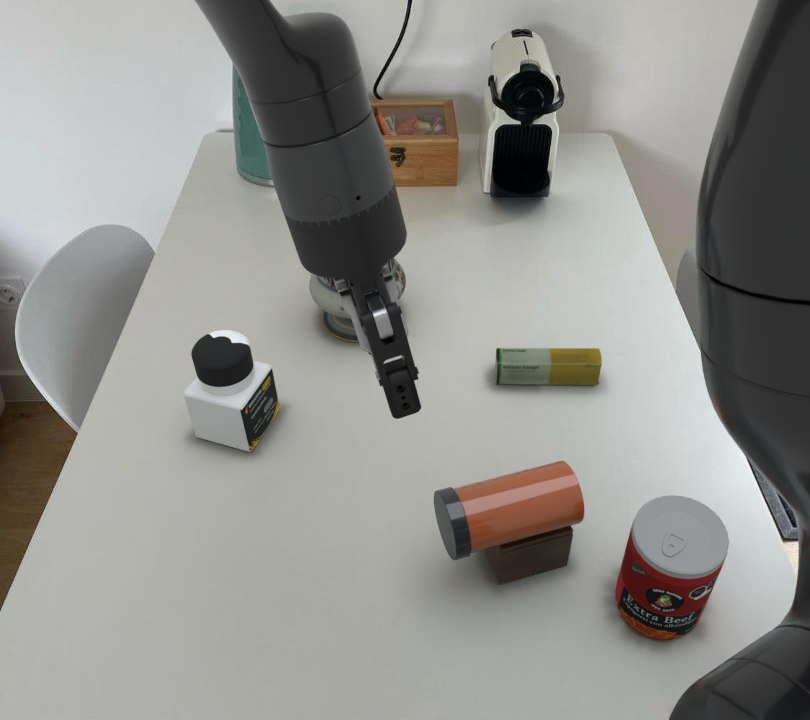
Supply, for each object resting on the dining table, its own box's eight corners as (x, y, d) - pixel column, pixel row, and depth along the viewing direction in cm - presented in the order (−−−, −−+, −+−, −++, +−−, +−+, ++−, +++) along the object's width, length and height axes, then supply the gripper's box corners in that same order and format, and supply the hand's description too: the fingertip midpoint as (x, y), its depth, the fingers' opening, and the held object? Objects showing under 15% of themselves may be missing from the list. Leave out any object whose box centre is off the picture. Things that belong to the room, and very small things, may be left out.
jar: (552, 487, 78) (559, 444, 73) (581, 539, 73) (589, 496, 69) (433, 519, 75) (433, 476, 71) (455, 574, 71) (456, 532, 67)
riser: (545, 524, 80) (551, 488, 77) (567, 565, 77) (574, 530, 73) (479, 542, 79) (481, 507, 75) (498, 585, 76) (501, 551, 72)
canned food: (605, 628, 72) (624, 557, 65) (622, 556, 77) (641, 483, 70) (694, 656, 70) (724, 587, 62) (705, 580, 75) (734, 508, 68)
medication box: (494, 386, 95) (495, 364, 92) (494, 369, 97) (494, 346, 94) (598, 386, 94) (603, 363, 91) (596, 368, 96) (600, 345, 93)
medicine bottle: (251, 454, 88) (232, 374, 80) (194, 438, 90) (170, 358, 82) (281, 409, 93) (266, 330, 85) (226, 395, 95) (207, 316, 87)
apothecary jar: (365, 277, 111) (356, 159, 99) (426, 317, 104) (424, 196, 92) (295, 317, 105) (276, 196, 93) (354, 362, 99) (342, 238, 86)
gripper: (419, 214, 47) (467, 420, 57) (368, 136, 59) (416, 318, 68) (295, 254, 47) (365, 455, 56) (269, 168, 58) (331, 346, 68)
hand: (393, 379), depth 62 cm, fingers open, 8 cm apart
